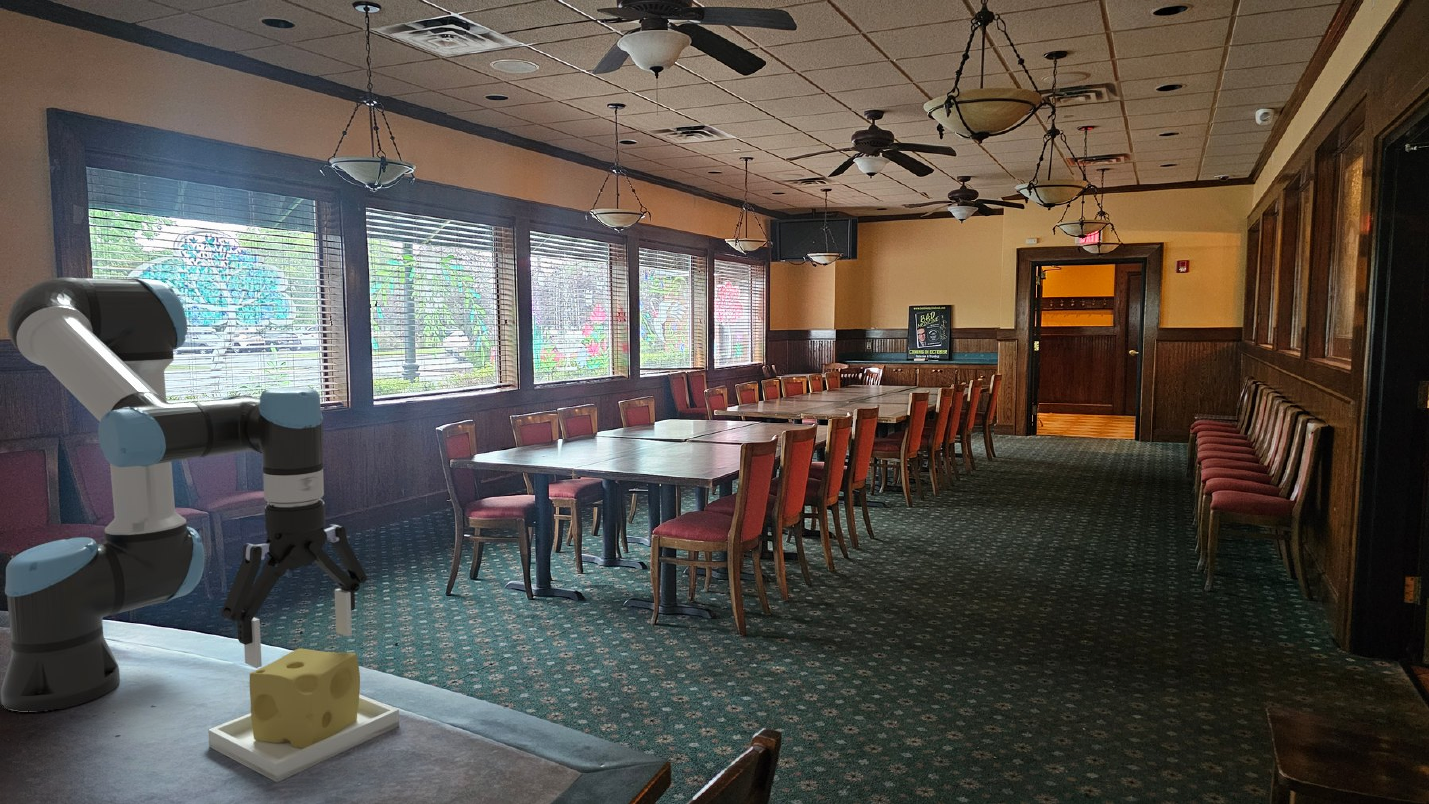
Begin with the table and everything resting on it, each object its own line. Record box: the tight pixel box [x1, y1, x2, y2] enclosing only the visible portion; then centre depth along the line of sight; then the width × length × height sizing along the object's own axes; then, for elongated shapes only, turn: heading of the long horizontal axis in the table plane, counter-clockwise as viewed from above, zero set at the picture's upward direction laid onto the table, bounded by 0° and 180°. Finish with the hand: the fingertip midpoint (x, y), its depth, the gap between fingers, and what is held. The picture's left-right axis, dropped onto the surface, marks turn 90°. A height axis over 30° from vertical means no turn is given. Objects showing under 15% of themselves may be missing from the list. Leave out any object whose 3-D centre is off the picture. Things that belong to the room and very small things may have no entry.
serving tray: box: [207, 693, 400, 783], centre depth 128 cm, size 17×19×2 cm
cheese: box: [249, 648, 361, 749], centre depth 128 cm, size 10×11×10 cm
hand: (300, 648), depth 127 cm, fingers open, 13 cm apart
